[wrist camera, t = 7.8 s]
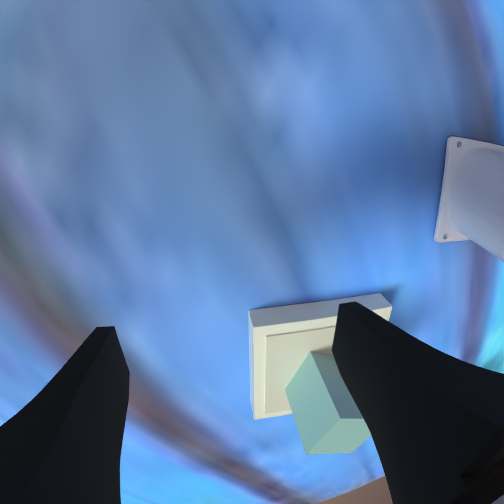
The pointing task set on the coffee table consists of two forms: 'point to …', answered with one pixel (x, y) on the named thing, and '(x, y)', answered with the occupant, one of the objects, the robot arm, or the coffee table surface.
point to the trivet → (292, 345)
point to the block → (325, 408)
